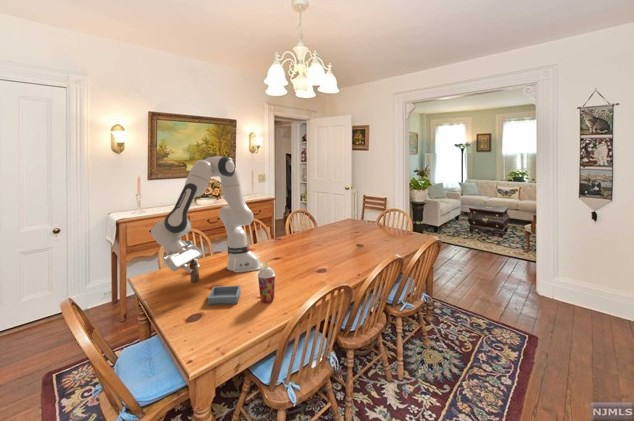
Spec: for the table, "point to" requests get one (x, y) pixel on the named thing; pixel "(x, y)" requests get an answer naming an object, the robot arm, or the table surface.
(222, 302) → the serving tray
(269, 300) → the smoothie
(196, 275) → the pepper mill
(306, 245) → the table surface
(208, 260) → the table surface
